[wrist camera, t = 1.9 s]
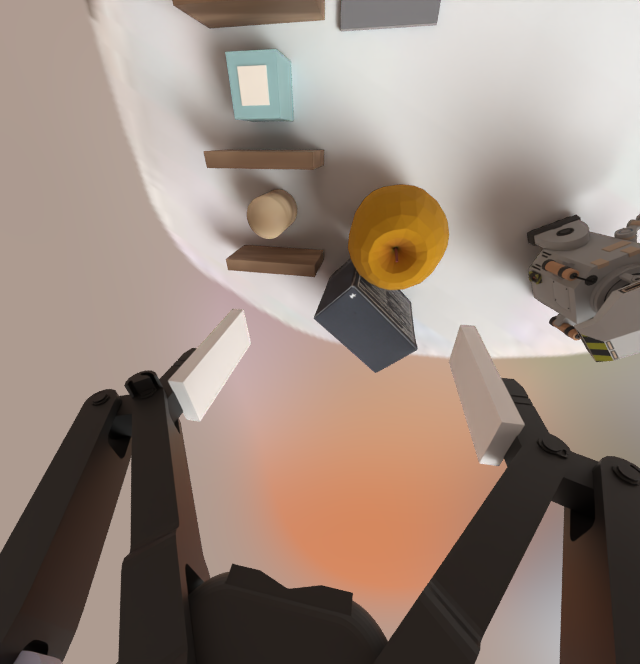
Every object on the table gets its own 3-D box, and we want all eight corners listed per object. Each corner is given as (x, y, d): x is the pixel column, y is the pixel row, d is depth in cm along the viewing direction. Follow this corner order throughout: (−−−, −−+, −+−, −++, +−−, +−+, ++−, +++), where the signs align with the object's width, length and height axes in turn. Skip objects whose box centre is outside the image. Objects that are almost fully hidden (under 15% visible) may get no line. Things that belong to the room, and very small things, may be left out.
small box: (326, 279, 38) (309, 319, 30) (360, 247, 35) (352, 281, 26) (376, 327, 41) (373, 376, 33) (413, 302, 38) (420, 349, 29)
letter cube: (246, 63, 27) (224, 51, 23) (291, 61, 26) (275, 48, 22) (253, 121, 29) (234, 119, 26) (293, 121, 29) (280, 118, 25)
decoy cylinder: (261, 188, 33) (243, 195, 29) (296, 189, 32) (283, 197, 28) (265, 226, 36) (250, 237, 32) (298, 228, 35) (286, 239, 31)
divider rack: (167, -235, 19) (99, -352, 14) (326, -275, 17) (305, -421, 12) (246, 254, 38) (228, 269, 34) (323, 260, 37) (314, 276, 32)
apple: (347, 186, 31) (331, 206, 22) (440, 167, 28) (466, 181, 19) (358, 267, 36) (348, 312, 27) (437, 258, 34) (456, 304, 24)
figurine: (643, 267, 30) (817, 353, 18) (521, 302, 35) (593, 388, 23) (648, 183, 26) (874, 221, 14) (509, 235, 31) (589, 298, 19)
